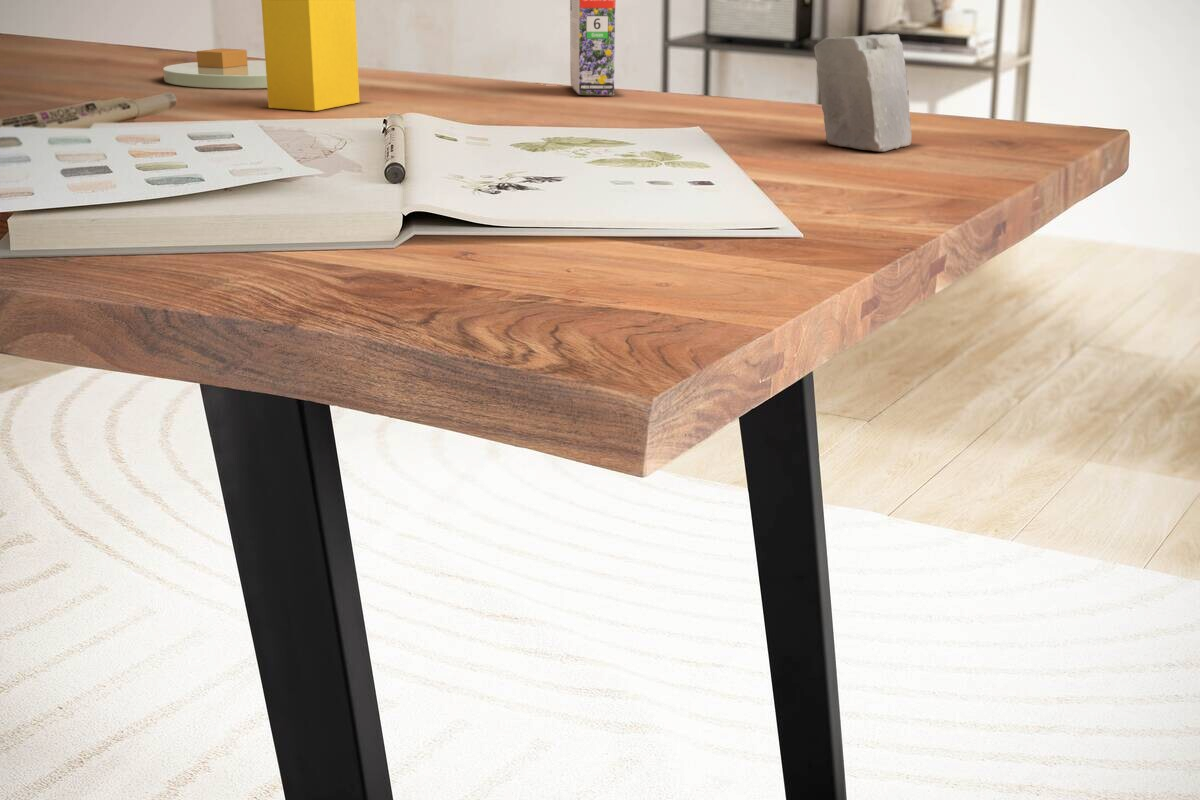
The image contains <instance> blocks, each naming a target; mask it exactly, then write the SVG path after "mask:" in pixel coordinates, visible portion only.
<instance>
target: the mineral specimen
mask: <svg viewBox="0 0 1200 800" xmlns="http://www.w3.org/2000/svg"><path fill="white" fill-rule="evenodd" d="M900 38H901V37H900V35H899V32H898V33H897V32H896V33H894V34H893V33H892V34H891V33H883V34H868V35H859V36H856V35H854V36H852V35H851V36H843V37H839V36H835V37H833V36H832V37H831V36H830V37H825V38H824V39H822V40H820V41H819V42H817V43H816V44H815V45H814V47H813V49H814V58H815V61H816V75H817V82H818V87H819V96H820V100H821V110H822V113H823V122H824V132H825V138H826V139H825V140H826V142H827V143H828V144H829V145H831V146H838V147H840V148H842V147H844V148H848V149H849V148H850V149H851V148H852V149H855V150H862V151H872V152H888V151H892V150H897V149H899V148H903V147H907V146H910V145H911V143H912V137H913V135H912V125H911V121H912V120H911V113H910V101H909V100H910V99H909V89H908V73H907V72H908V70H907V67H906V60H905V58H904V44H903V42H902V41H901V39H900Z"/></svg>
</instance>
